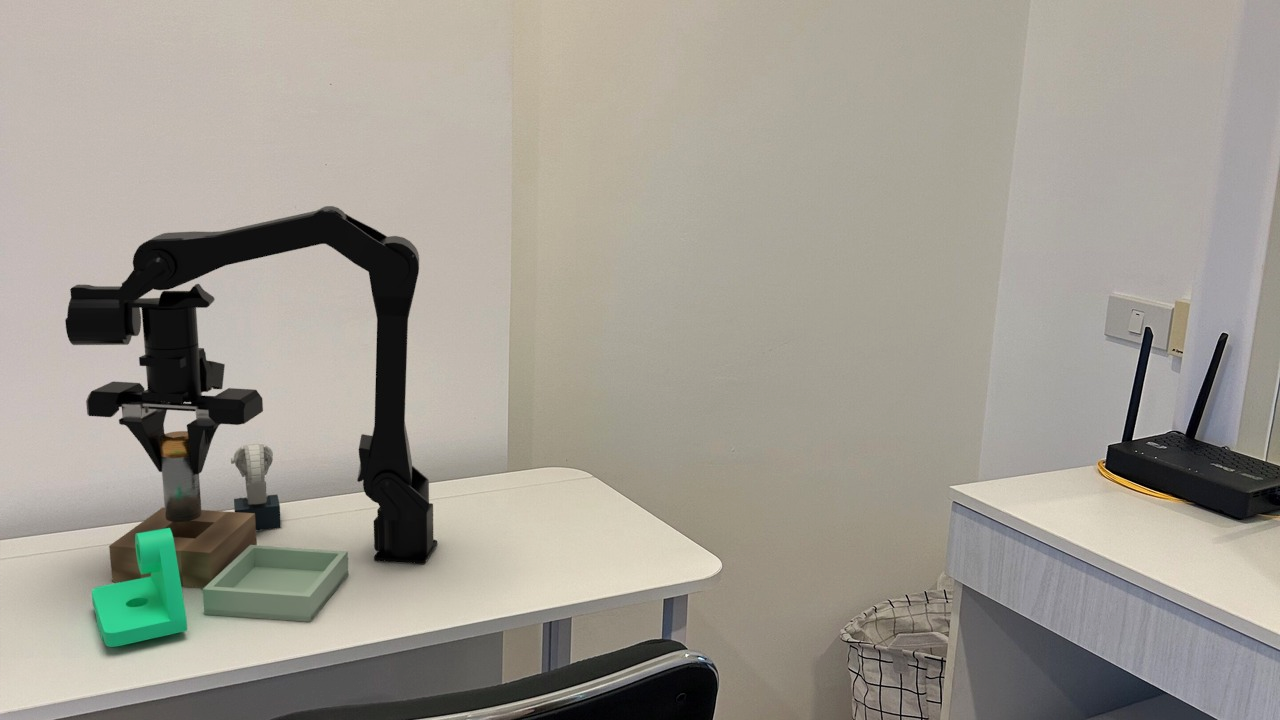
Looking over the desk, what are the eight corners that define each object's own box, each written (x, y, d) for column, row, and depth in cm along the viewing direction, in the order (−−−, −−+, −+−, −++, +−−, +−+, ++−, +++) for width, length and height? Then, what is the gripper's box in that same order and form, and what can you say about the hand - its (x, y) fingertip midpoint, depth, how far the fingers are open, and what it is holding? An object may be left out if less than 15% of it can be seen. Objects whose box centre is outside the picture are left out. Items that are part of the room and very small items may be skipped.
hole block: (256, 546, 134) (254, 513, 133) (212, 588, 122) (209, 552, 121) (165, 540, 135) (162, 507, 134) (112, 581, 123) (109, 545, 122)
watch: (277, 510, 145) (273, 434, 143) (281, 532, 138) (278, 453, 136) (233, 515, 143) (229, 438, 141) (236, 538, 136) (231, 457, 134)
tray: (348, 574, 127) (347, 551, 126) (310, 621, 115) (309, 596, 115) (251, 567, 128) (250, 544, 127) (204, 614, 116) (202, 589, 116)
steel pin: (207, 510, 129) (202, 432, 126) (191, 523, 125) (186, 442, 122) (175, 508, 129) (170, 430, 127) (158, 521, 125) (152, 440, 123)
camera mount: (92, 609, 117) (84, 523, 114) (167, 594, 121) (160, 510, 118) (107, 658, 107) (98, 564, 105) (187, 640, 111) (181, 549, 109)
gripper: (278, 333, 129) (284, 455, 133) (131, 325, 130) (141, 446, 134) (238, 354, 118) (245, 486, 122) (78, 345, 119) (90, 476, 123)
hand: (180, 472), depth 126 cm, fingers closed on steel pin, 4 cm apart
